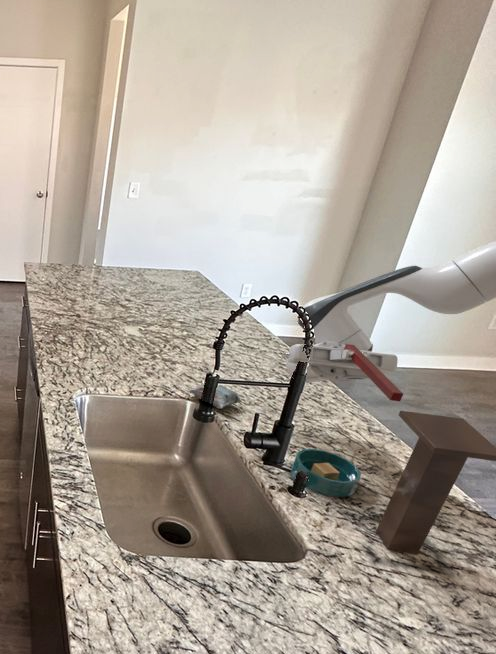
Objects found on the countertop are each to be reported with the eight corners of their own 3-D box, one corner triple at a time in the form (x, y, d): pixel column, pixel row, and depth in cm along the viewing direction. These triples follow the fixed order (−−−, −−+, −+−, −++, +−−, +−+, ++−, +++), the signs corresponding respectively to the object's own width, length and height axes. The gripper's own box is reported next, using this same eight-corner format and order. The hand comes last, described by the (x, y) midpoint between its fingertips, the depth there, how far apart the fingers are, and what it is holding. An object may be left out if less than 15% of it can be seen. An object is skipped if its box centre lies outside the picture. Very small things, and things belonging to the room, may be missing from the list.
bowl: (340, 471, 123) (347, 453, 121) (362, 506, 112) (370, 487, 110) (283, 463, 125) (289, 445, 123) (299, 496, 114) (306, 477, 112)
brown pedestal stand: (413, 531, 106) (469, 419, 94) (446, 578, 95) (514, 458, 84) (346, 521, 108) (393, 409, 97) (371, 565, 97) (428, 446, 86)
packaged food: (220, 415, 144) (224, 399, 142) (184, 396, 153) (188, 380, 151) (240, 408, 148) (245, 392, 146) (204, 390, 157) (208, 374, 155)
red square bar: (351, 351, 114) (353, 344, 114) (400, 401, 95) (403, 393, 94) (343, 350, 115) (345, 343, 114) (390, 400, 95) (393, 392, 94)
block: (323, 475, 120) (328, 462, 119) (334, 486, 117) (340, 472, 115) (308, 476, 120) (313, 463, 118) (319, 486, 116) (325, 473, 115)
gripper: (280, 342, 125) (305, 333, 112) (376, 353, 122) (414, 346, 108) (277, 368, 125) (301, 363, 111) (374, 380, 121) (411, 376, 108)
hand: (358, 355), depth 110 cm, fingers closed on red square bar, 2 cm apart
